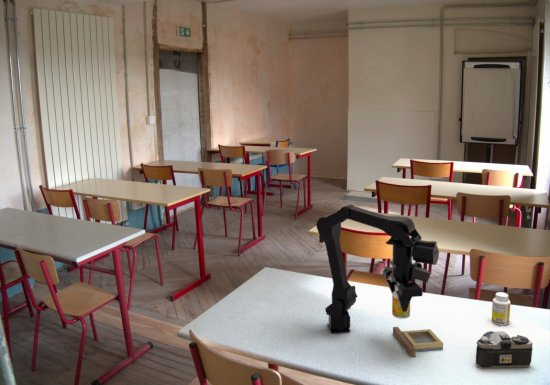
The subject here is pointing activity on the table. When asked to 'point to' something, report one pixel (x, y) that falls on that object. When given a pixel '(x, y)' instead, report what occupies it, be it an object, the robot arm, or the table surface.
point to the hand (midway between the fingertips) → (401, 307)
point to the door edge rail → (404, 342)
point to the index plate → (424, 340)
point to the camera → (503, 350)
